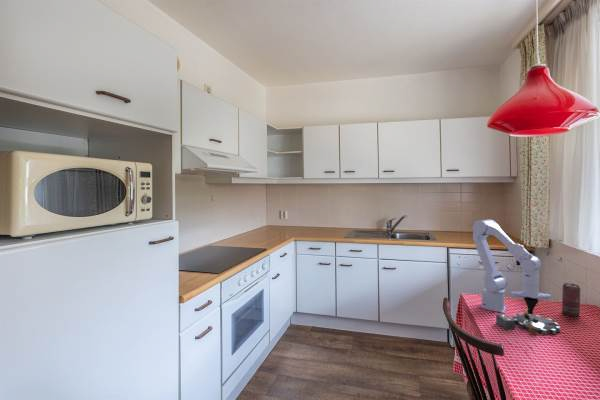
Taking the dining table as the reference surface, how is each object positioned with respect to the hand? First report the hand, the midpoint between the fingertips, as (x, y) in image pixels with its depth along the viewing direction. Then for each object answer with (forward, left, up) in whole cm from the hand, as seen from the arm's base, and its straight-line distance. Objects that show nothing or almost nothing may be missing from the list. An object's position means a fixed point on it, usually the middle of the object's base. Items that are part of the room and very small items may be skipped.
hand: (530, 313), depth 136 cm
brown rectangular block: (+2, -14, -3) cm, 14 cm away
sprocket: (+2, -5, -3) cm, 6 cm away
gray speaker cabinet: (-8, -14, -3) cm, 16 cm away
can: (+14, +18, -3) cm, 23 cm away
